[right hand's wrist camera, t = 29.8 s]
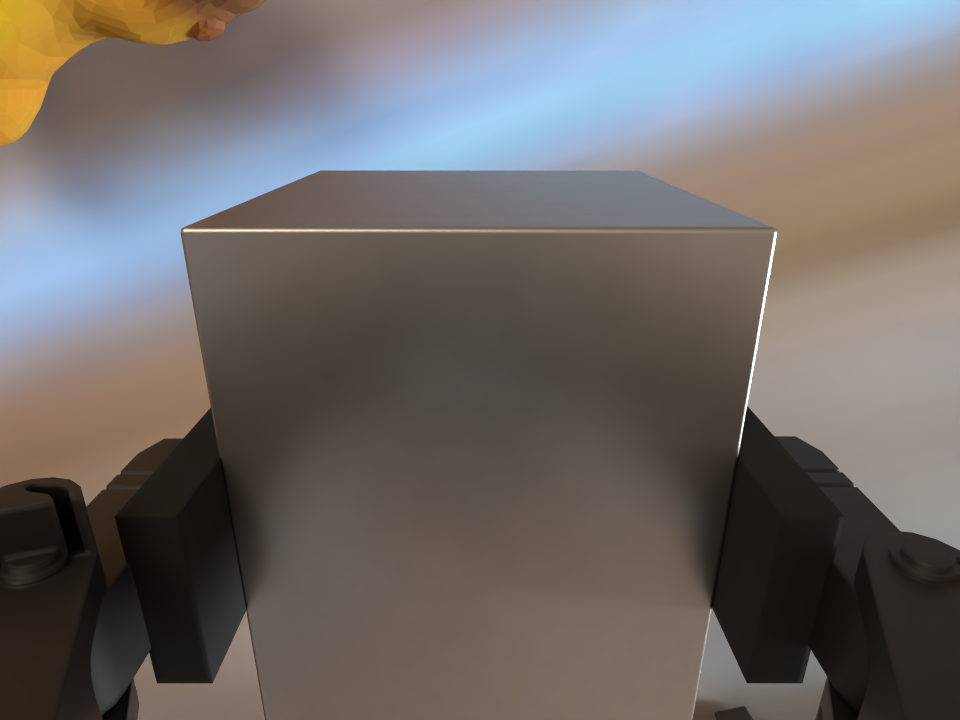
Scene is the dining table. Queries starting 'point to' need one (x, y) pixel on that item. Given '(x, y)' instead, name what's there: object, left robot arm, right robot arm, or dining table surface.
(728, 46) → the dining table surface
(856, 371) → the dining table surface
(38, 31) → the toy
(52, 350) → the dining table surface
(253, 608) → the block
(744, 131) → the dining table surface
